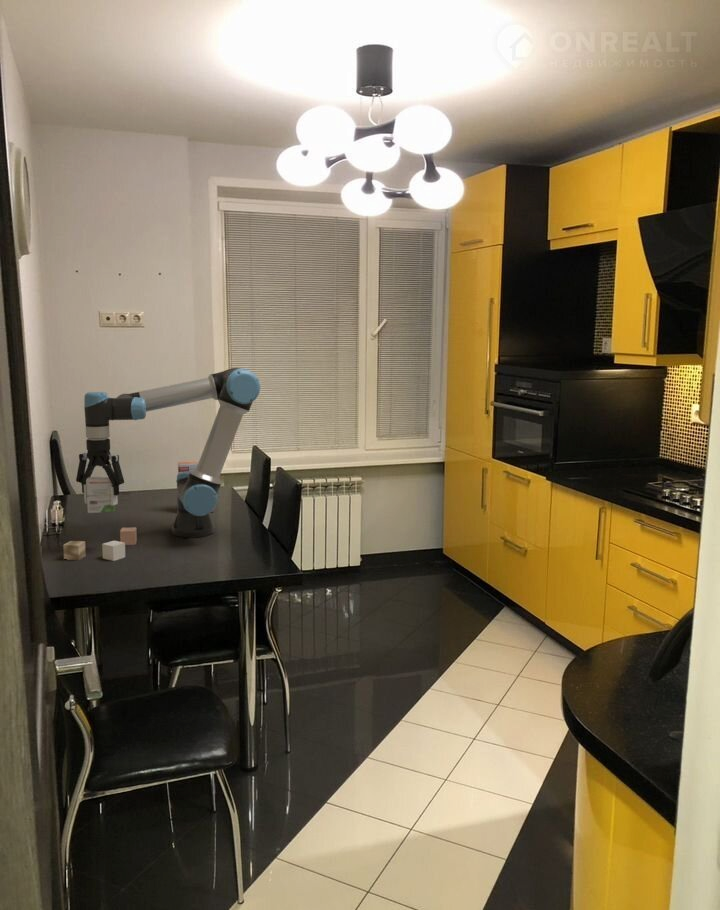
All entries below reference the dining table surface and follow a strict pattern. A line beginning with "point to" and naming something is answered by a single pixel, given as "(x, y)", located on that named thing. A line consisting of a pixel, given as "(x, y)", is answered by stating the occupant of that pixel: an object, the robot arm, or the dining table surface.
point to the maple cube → (74, 550)
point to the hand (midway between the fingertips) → (101, 503)
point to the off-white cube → (113, 550)
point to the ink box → (99, 495)
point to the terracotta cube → (128, 536)
